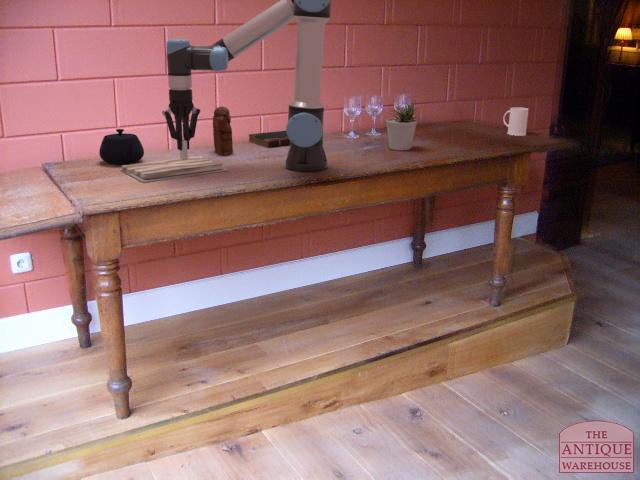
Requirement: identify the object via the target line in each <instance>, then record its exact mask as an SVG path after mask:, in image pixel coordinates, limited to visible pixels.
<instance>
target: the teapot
mask: <svg viewBox="0 0 640 480" xmlns="http://www.w3.org/2000/svg"><path fill="white" fill-rule="evenodd" d="M115 131H116V132H117V133H112V134H106V135H104V136H103V138H102V141H101V144H100V146H99V150H98V151H99V152H98V153H99V156H100V159H101V160H102V161H104V162H105V163H106V164H107V165H111V166H124V165H132V164H138V163H139V161H140V160H142V159H143V158H144V156H145V149H144V147H143V144H142V143H141V141H140V139H139V137H138V136H137V134H134V133H123V132H124V131H125V129H124V128H116V129H115Z"/></svg>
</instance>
